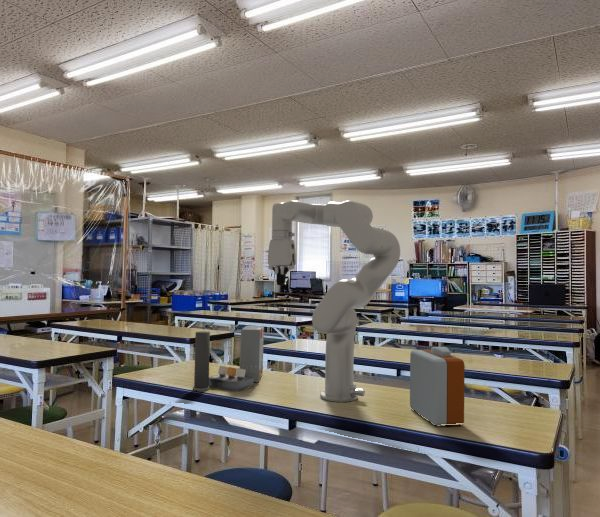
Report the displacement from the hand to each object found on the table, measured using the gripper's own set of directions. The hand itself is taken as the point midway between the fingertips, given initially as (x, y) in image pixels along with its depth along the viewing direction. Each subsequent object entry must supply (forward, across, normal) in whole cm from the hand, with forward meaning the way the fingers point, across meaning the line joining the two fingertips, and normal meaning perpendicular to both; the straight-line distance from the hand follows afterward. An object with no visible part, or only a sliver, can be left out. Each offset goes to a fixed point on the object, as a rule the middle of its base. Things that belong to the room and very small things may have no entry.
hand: (280, 285), depth 174 cm
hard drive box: (+37, +15, -4) cm, 40 cm away
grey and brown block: (+37, -59, +9) cm, 70 cm away
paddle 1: (+34, +10, +11) cm, 37 cm away
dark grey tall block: (+37, +20, +20) cm, 47 cm away
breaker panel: (+37, +14, +11) cm, 41 cm away
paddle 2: (+34, +14, +11) cm, 38 cm away
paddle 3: (+34, +18, +11) cm, 40 cm away
